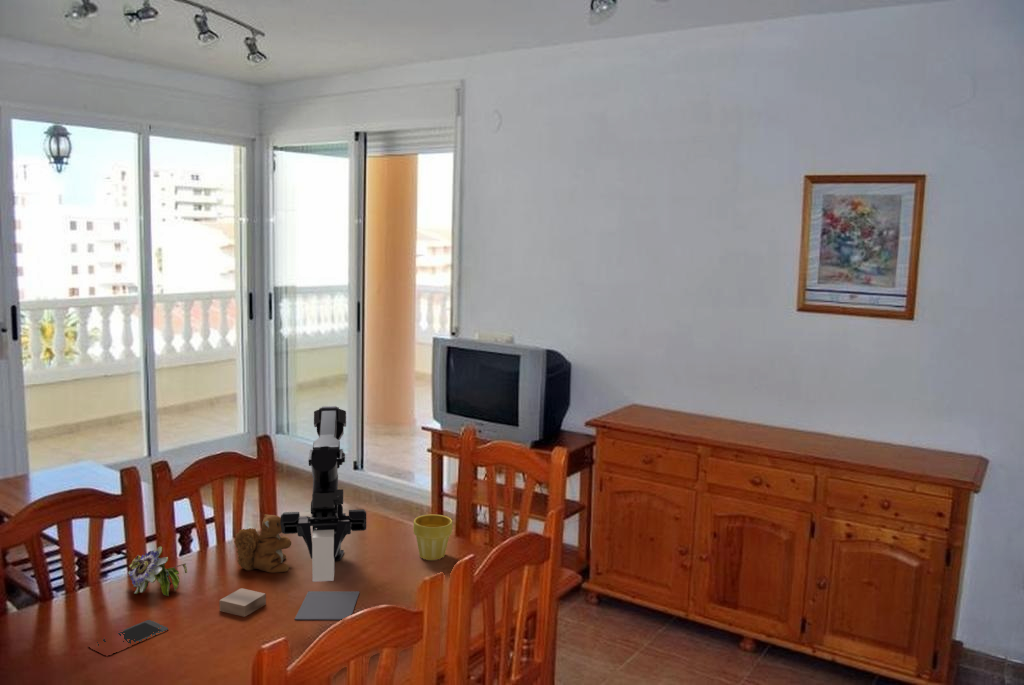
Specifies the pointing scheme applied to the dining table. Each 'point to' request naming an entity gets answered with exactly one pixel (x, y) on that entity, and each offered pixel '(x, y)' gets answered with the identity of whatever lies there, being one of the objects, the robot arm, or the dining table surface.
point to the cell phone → (142, 631)
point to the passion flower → (153, 572)
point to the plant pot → (432, 535)
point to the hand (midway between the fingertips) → (323, 557)
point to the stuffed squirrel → (263, 546)
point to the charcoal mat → (327, 605)
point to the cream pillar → (323, 555)
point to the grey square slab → (242, 602)
